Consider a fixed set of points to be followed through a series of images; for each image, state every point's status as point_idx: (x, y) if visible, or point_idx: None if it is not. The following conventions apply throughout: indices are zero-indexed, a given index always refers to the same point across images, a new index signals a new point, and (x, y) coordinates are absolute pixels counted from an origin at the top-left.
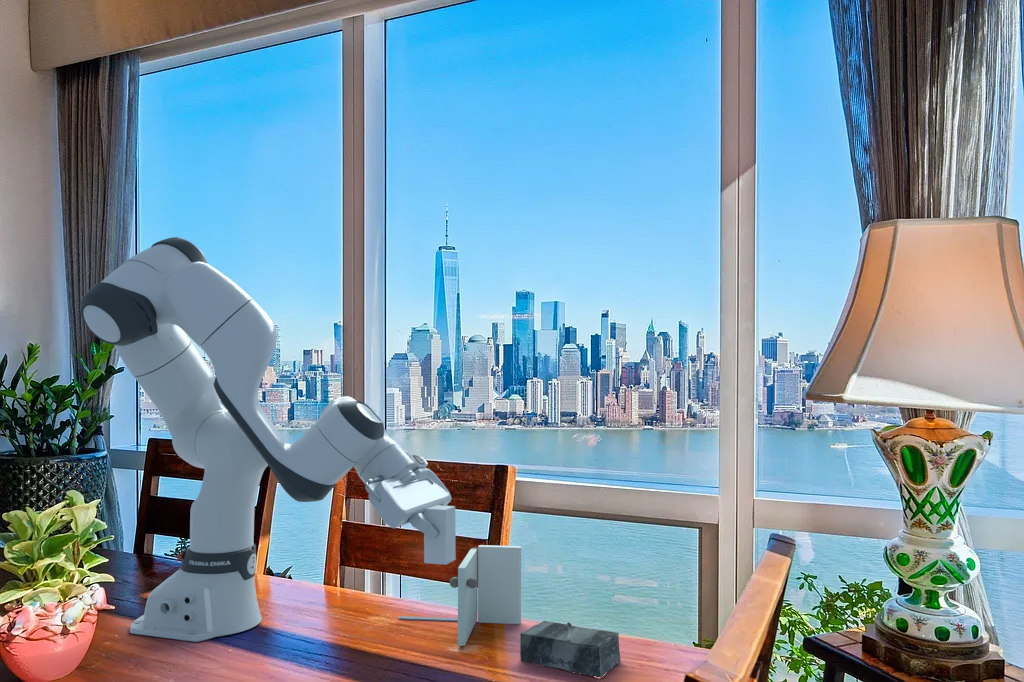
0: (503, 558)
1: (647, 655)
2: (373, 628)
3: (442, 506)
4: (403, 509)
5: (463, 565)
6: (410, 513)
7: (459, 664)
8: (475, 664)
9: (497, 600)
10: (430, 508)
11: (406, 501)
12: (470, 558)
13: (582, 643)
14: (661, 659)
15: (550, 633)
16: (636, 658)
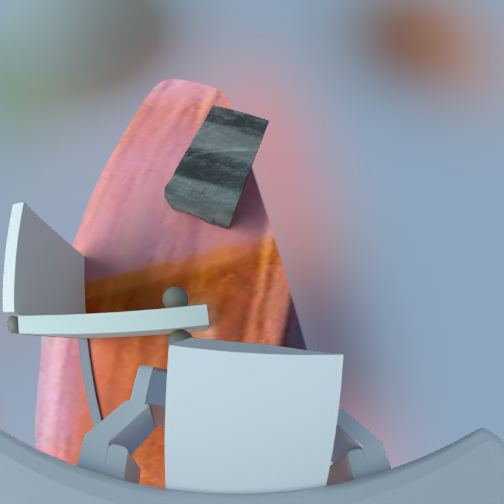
0: (30, 252)
1: (183, 108)
2: (160, 474)
3: (206, 434)
4: (494, 441)
5: (179, 316)
6: (463, 437)
7: (263, 308)
8: (257, 286)
9: (69, 286)
10: (308, 469)
11: (461, 496)
12: (102, 314)
13: (260, 136)
14: (192, 99)
15: (228, 172)
16: (193, 115)
